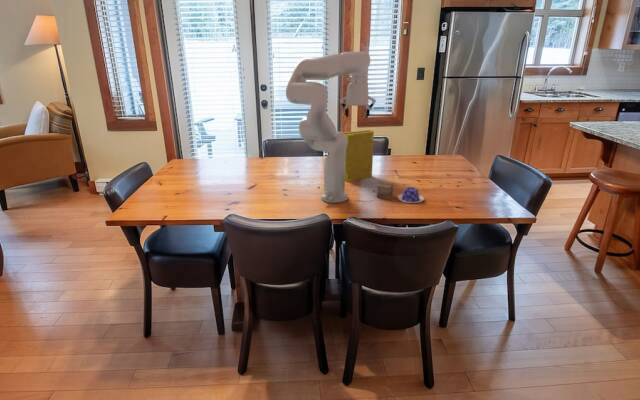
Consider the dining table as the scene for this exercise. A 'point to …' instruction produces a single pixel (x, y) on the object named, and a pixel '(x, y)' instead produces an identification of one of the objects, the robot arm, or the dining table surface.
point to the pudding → (410, 195)
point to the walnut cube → (385, 190)
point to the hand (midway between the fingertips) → (357, 117)
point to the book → (359, 155)
